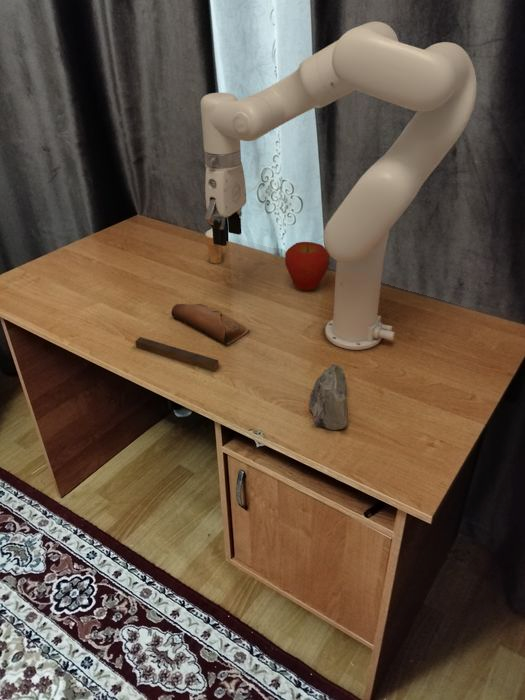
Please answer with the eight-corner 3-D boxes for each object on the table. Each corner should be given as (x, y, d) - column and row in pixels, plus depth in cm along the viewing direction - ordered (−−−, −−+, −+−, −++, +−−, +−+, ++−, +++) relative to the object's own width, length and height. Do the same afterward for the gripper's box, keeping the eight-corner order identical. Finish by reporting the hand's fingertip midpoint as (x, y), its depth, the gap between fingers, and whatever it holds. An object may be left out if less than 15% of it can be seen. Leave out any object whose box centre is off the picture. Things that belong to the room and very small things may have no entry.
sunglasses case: (251, 328, 130) (240, 313, 125) (233, 353, 128) (221, 339, 123) (197, 303, 140) (184, 287, 135) (180, 325, 138) (166, 311, 133)
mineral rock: (329, 379, 115) (332, 338, 109) (376, 401, 109) (381, 359, 104) (289, 413, 107) (290, 370, 102) (337, 438, 102) (340, 395, 96)
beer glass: (203, 259, 160) (200, 225, 155) (221, 256, 162) (219, 222, 156) (206, 266, 157) (204, 231, 151) (225, 263, 158) (223, 229, 152)
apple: (278, 282, 149) (278, 238, 142) (316, 274, 152) (317, 231, 145) (295, 302, 140) (296, 257, 133) (335, 293, 143) (338, 249, 136)
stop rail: (219, 367, 120) (218, 360, 118) (214, 371, 118) (213, 364, 117) (141, 343, 127) (140, 336, 126) (136, 347, 126) (135, 340, 125)
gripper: (217, 173, 112) (222, 257, 122) (258, 149, 124) (260, 227, 135) (184, 168, 115) (192, 251, 125) (227, 145, 127) (232, 222, 137)
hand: (227, 238), depth 130 cm, fingers open, 5 cm apart
